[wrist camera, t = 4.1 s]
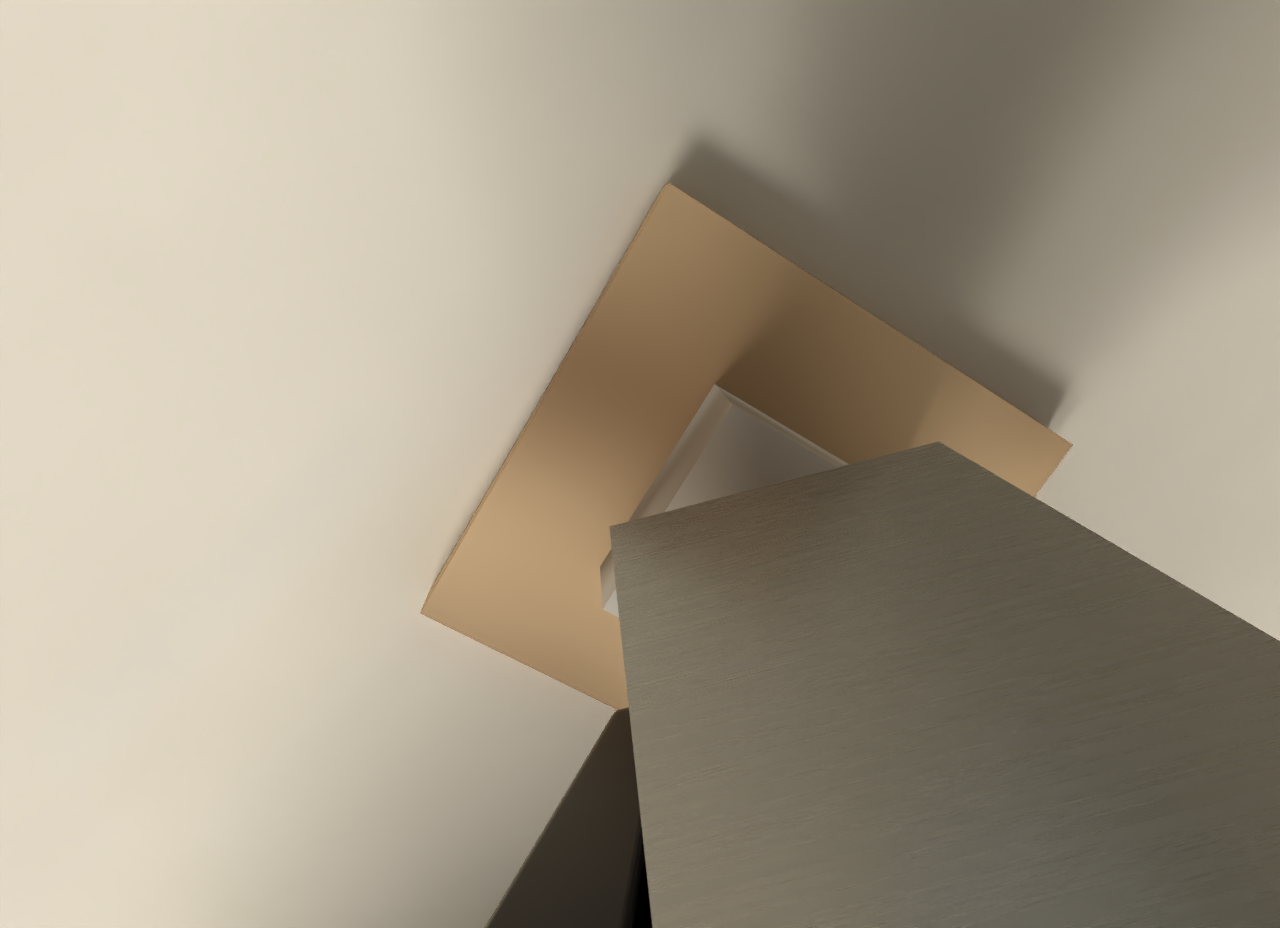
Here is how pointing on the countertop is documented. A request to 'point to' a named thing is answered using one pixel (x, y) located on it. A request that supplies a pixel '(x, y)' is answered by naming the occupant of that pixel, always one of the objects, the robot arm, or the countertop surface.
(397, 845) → the countertop surface
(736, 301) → the stud base
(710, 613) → the strut
